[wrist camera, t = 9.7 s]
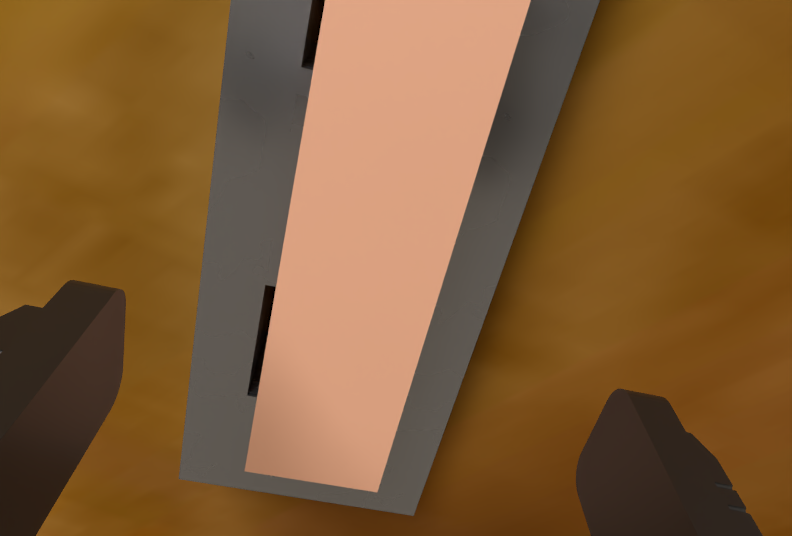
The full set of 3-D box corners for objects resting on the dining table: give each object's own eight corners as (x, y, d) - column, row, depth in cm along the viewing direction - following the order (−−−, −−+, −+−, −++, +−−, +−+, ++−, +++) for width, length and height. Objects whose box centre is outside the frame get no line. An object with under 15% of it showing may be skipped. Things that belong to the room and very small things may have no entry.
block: (497, -79, 17) (555, -78, 11) (379, 351, 23) (377, 492, 17) (362, -116, 16) (348, -135, 11) (280, 332, 23) (244, 471, 17)
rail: (637, -240, 15) (701, -281, 12) (410, 443, 25) (413, 515, 22) (300, -347, 14) (277, -421, 11) (205, 408, 24) (178, 478, 21)
